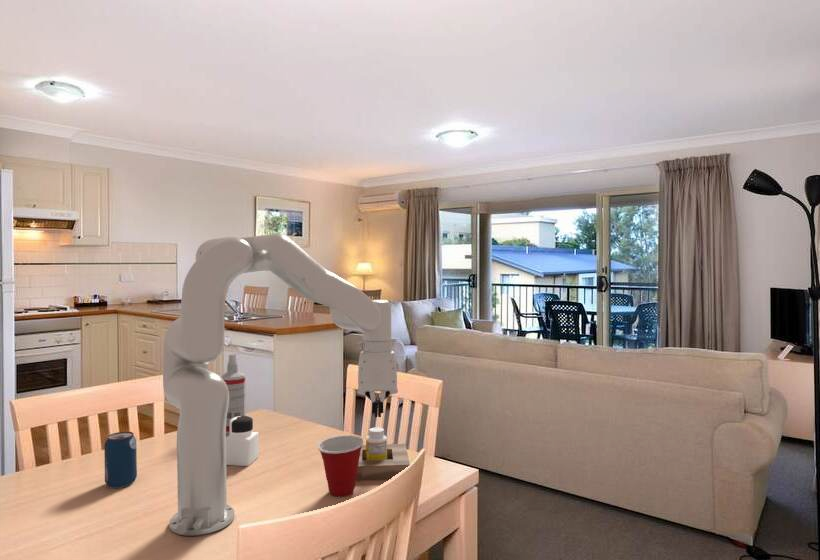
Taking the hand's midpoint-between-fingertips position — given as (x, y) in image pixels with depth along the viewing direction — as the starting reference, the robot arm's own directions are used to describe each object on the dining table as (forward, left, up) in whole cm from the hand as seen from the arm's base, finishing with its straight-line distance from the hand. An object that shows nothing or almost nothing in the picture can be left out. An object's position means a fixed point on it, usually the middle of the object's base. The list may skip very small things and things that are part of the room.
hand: (377, 415), depth 141 cm
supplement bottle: (0, 0, -14) cm, 14 cm away
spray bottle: (+36, +46, -14) cm, 60 cm away
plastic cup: (-15, +9, -14) cm, 22 cm away
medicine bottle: (+8, +37, -14) cm, 40 cm away
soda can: (-5, +63, -14) cm, 65 cm away
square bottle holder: (0, 0, -14) cm, 14 cm away
